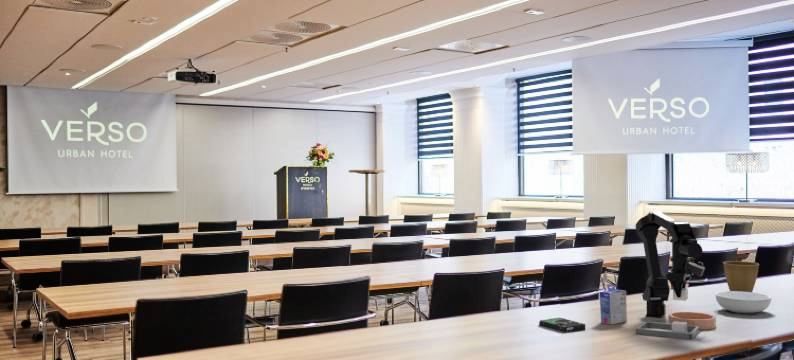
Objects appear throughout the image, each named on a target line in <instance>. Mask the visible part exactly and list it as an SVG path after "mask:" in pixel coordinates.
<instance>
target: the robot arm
mask: <svg viewBox="0 0 794 360" xmlns="http://www.w3.org/2000/svg"><path fill="white" fill-rule="evenodd" d="M660 228H663V229H665V230H666V231H667V234H668V235H669V236H670V237H671V239H670V240H669V243H671V258H670V261H671V268H670V271H669V272H667V273H666V274H665V277H664V276H663V275H662V269H661V263H660V258H659V253H658V252H659V251H658V247H657V246H658V245H657V241H656V239H657V238H658V235H659V230H660ZM635 230H636V232H637V237H638V238H639V239H640V240H641V241H642V243H643V248H644V254H645V260H646V267H647V273H648V278H647V281H646V282H645V290H644V291H643V293H642V294H641V297H642V300H643V301H645V302H646V314H645V317H653V318H663V317H665V316H666V313H667V312H666V311H667V309H666V308H667V307H666V304H665V301H666V302H668V301H669V296H670V292H671V291H670V286H669V283H670V285H671V288H672V290H673V289H674V291H675V293H676V296H677V297H678V298H680V297H681V292H682V288H687V283H688V281H689V280H691V279H692V276H694V275H695V276H697V277H702V276H703V275H704V272H705V269H706V267H705V266H704V263H703V262H702V261H698V262H697V263H695V262H692V261H691V259H699V258H700V257H701V256H702V255H703V248H702V246H701V244H700V243H699V242H698V239H697V238H696V234H695V232H694V230H693V228H692V225H691V224H690V222H688V221H682V220H676V219H674V218H672V217H669V216H668V215H666V214H664V213H663V212H661V211H650V212H649V213H647V215H645V216H643V217H641V218H640V219H639V220H637V222H635ZM688 275H690V276H688Z"/></svg>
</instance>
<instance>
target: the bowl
mask: <svg viewBox="0 0 794 360" xmlns="http://www.w3.org/2000/svg"><path fill="white" fill-rule="evenodd" d="M667 317H668V318H667V319H668V320H667V321H668V323H669V324H672V323H673V322H674V321H677V322H687V325H690V326H700V330H711V329H712V330H713V329H715V328H716V326H717V316H715V315H714V314H710V313H706V312H705V313H704V312H696V311H674V312H670V313H668V316H667Z"/></svg>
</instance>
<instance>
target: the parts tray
mask: <svg viewBox="0 0 794 360" xmlns="http://www.w3.org/2000/svg"><path fill="white" fill-rule="evenodd" d="M648 328H649V329H648ZM651 328H656V329H651ZM659 329H660V330H659ZM661 329H666V330H668V331H666V330H661ZM670 330H671V331H670ZM700 332H701V329H700V326H690V325H687V333H681V332H672V324H669V323H666V322H655V321H644V322H643V323H641V324H640V325H639V326H638V327H636V328H635V334H637V335H645V336H657V337H664V336H666V338H674V337H675V339H684V340H693V339H695V337H696V336H697V335H698V334H699V333H700Z"/></svg>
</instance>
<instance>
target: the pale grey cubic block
mask: <svg viewBox="0 0 794 360" xmlns="http://www.w3.org/2000/svg"><path fill="white" fill-rule="evenodd" d="M671 332H681V333H688V331H687V322H677V321H674V322H673V323H672V329H671Z"/></svg>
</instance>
